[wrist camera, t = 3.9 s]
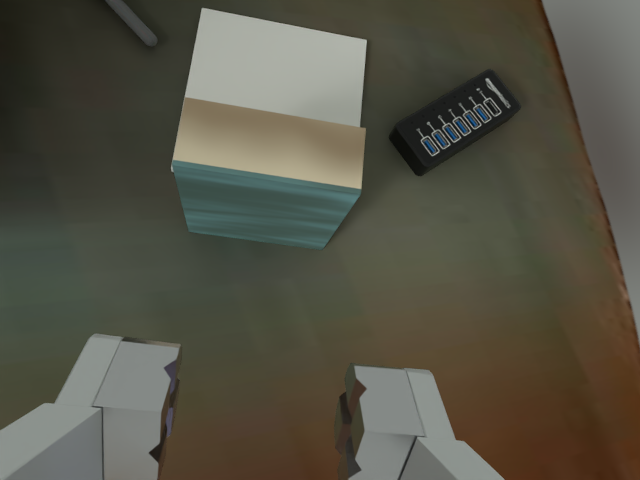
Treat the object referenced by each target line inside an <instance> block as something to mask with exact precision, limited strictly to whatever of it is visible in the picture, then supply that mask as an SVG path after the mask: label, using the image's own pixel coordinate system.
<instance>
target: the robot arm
mask: <svg viewBox="0 0 640 480" xmlns="http://www.w3.org/2000/svg"><path fill="white" fill-rule="evenodd" d="M181 360H182V345H181V344H175V343H167V342H160V341H152V340H145V339H137V338H130V337H124V338H123V337H118V336H110V335H103V334H93V335H92V336H91V337H90V338H89V339H88V341H87V342H86V344H85V346H84V348H83V350H82V352H81V354H80V356H79V358H78V360H77V361H76V363H75V365H74V367H73V369H72V371H71V373H70V375H69V377H68V378H67V380H66V382H65V384H64V386H63V388H62V390H61V392H60V394H59V396H58V397H57V399H56V401H55V403H54V404H51V403H44V404H42V405H40V406H39V407H37V408H36V409H34V410H32V411H31V412H29V413H28V414H26V415H24V416H23V417H21V418H20V419H18V420H16V421H15V422H13V423H12V424H10V425H8V426H7V427H5V428H4V429H2V430H0V480H159V479H160V475H161V471H162V467H163V463H164V459H165V455H166V443H167V437H168V436H169V435H170V434H171V431H172V427H173V423H174V418H175V413H176V407H177V401H178V394H179V384H180V380H179V379H178V373H179V369H180V365H181ZM345 387H346V392H345V393H343V394H342V395H341V396H340V397H339V401H338V405H337V409H336V415H335V424H334V437H335V448H336V449H337V451H338V452H339V453H340V454H341V455H342V456H341V459H340V462H339V466H338V469H337V471H338V480H505V479H504V478H502V477H501V476H500V475H499V474H498V473H497V472H496V471H495V470H494V469H493V468H492V467H491V466H490V465H489V464H488V463H486V462H485V461H484V460H483V459H482V458H481V457H480V456H479V455H478V454H477V453H476V452H475V451H474V450H473V449H472V448H471V447H469V446H468V445H467V444H466V443H465V442H464V441H456V439H455V436H454V433H453V431H452V428H451V425H450V422H449V419H448V416H447V414H446V411H445V408H444V405H443V402H442V399H441V397H440V394H439V391H438V388H437V385H436V382H435V380H434V377H433V374H432V373H431V372H430V371H429V370H422V369H411V368H395V367H386V366H376V365H366V364H356V363H350V365H349V367H348V369H347V372H346V376H345Z"/></svg>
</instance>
